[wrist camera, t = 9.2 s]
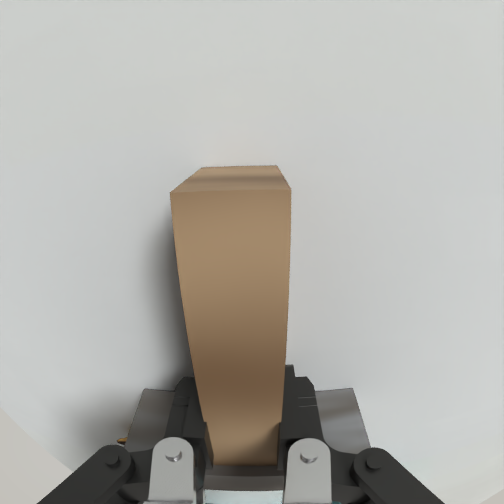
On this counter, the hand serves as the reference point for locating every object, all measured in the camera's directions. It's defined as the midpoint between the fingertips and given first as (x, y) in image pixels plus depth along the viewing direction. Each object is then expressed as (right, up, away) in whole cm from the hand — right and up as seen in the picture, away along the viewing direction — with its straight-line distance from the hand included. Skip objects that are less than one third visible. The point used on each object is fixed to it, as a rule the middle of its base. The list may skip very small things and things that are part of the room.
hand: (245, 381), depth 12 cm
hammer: (0, +3, 0) cm, 3 cm away
